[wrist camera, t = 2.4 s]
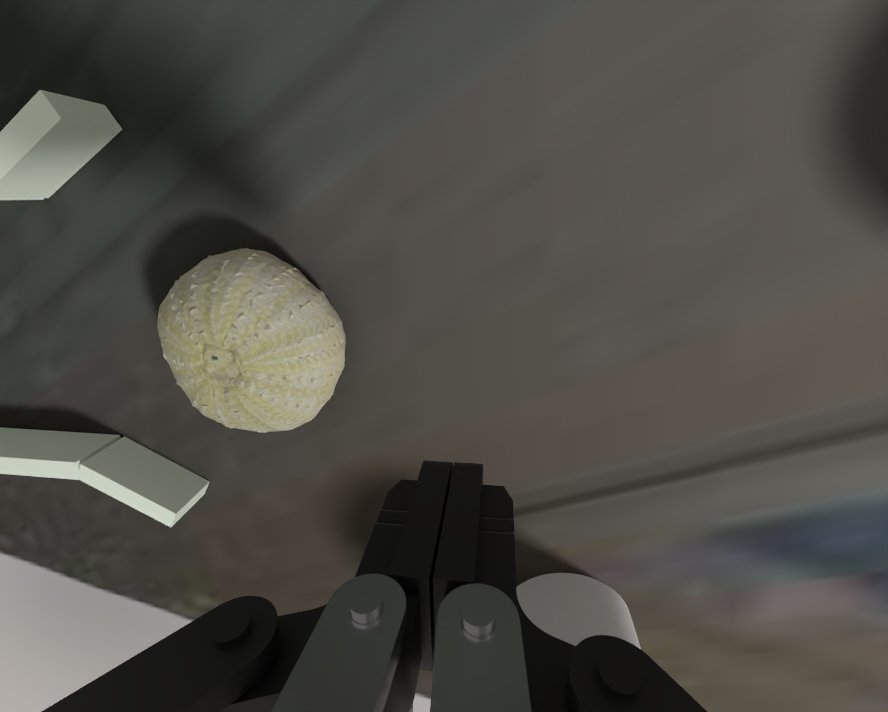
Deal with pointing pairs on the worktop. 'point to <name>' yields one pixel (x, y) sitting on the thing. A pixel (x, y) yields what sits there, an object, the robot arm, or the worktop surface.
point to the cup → (575, 608)
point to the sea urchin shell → (252, 341)
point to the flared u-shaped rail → (74, 453)
